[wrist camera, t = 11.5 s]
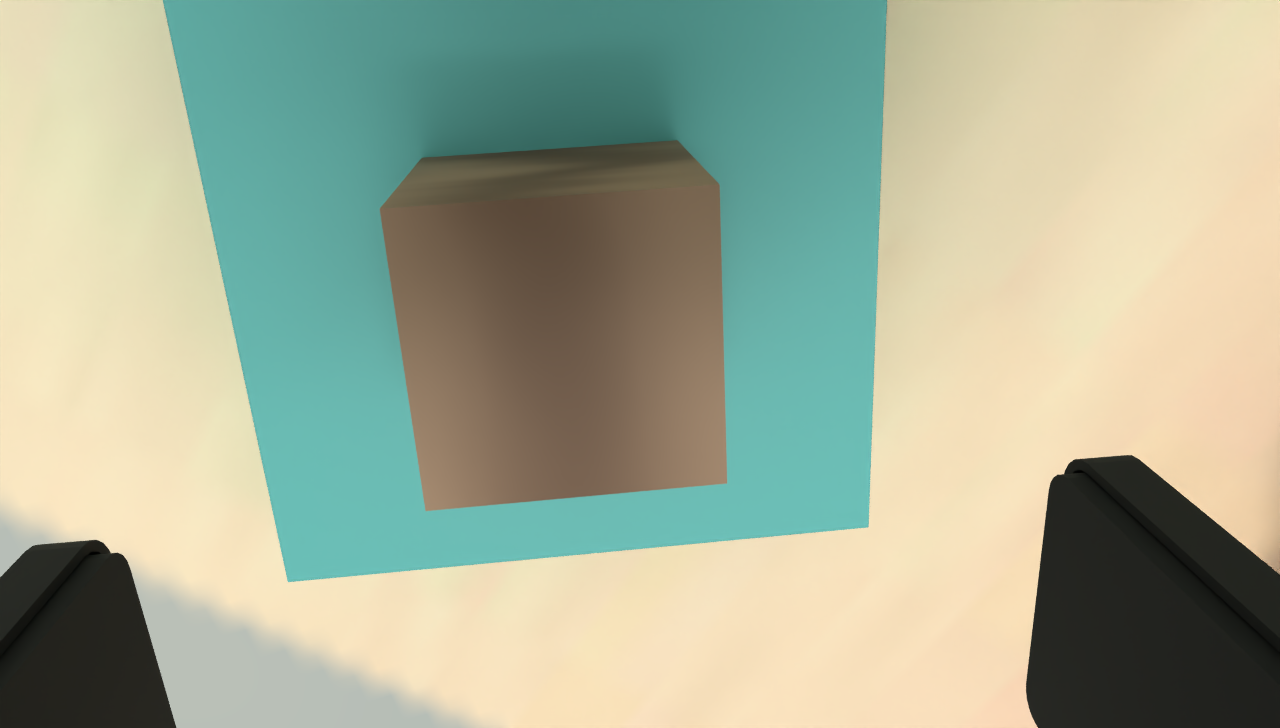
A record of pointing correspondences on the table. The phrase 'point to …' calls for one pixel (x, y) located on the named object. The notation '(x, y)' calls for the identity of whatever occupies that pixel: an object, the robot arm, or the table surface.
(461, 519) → the teal base
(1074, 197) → the table surface
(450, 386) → the walnut cube
